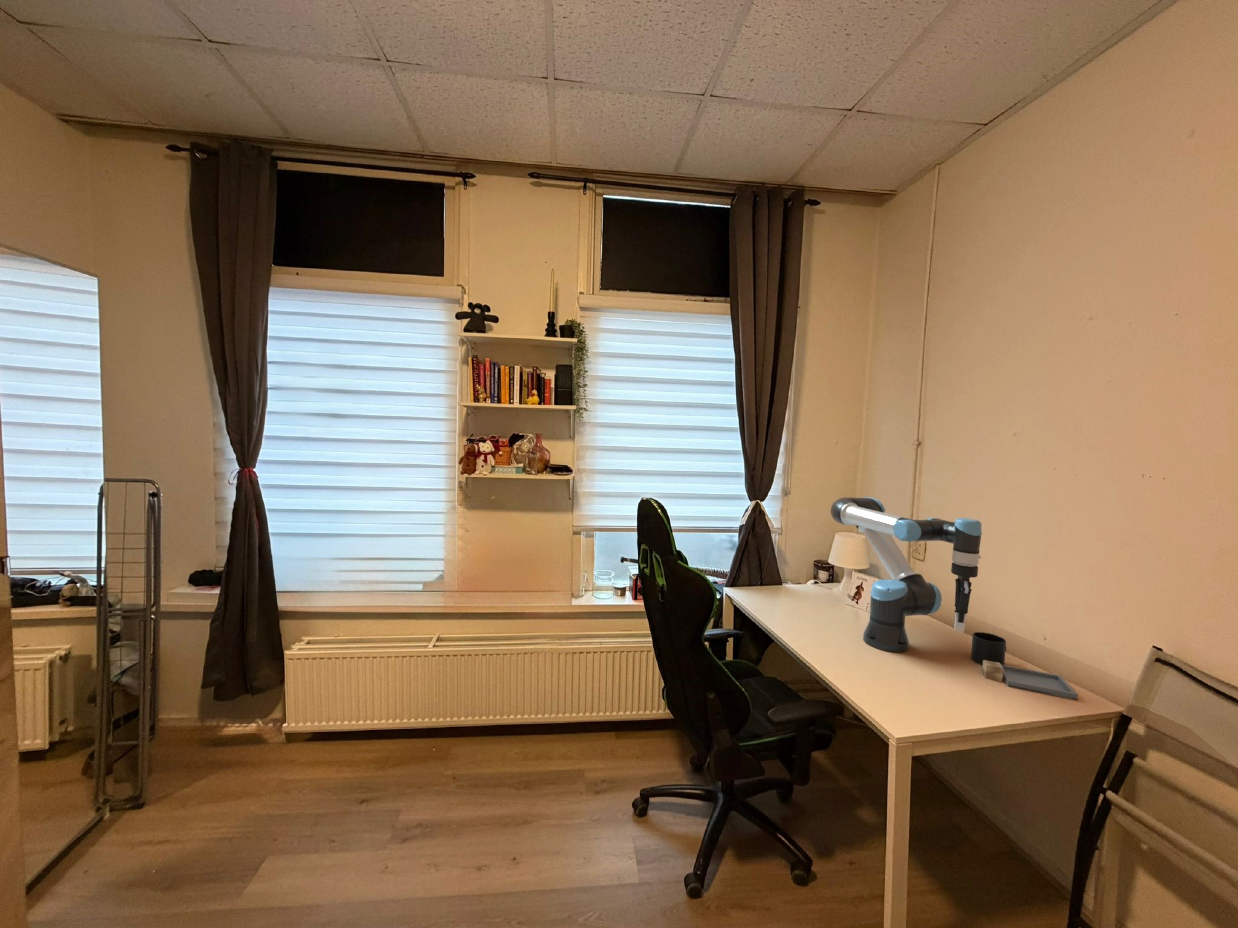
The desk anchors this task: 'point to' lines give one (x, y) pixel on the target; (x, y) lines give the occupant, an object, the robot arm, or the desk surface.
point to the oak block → (992, 670)
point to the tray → (1037, 682)
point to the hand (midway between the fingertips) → (959, 630)
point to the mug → (988, 648)
